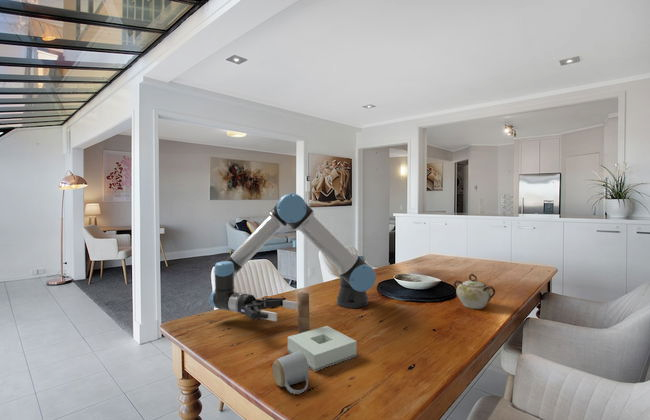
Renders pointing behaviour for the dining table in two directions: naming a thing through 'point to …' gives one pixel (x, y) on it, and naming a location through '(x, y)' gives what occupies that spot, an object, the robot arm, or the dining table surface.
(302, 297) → the dowel
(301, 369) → the ceramic mug
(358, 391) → the dining table surface
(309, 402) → the dining table surface
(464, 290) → the sugar bowl
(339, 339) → the socket block
